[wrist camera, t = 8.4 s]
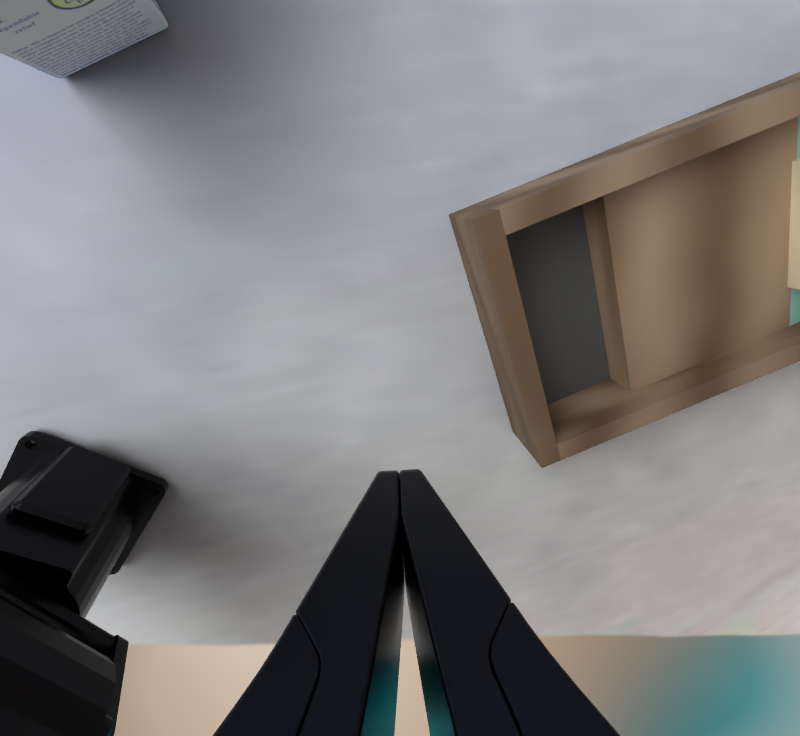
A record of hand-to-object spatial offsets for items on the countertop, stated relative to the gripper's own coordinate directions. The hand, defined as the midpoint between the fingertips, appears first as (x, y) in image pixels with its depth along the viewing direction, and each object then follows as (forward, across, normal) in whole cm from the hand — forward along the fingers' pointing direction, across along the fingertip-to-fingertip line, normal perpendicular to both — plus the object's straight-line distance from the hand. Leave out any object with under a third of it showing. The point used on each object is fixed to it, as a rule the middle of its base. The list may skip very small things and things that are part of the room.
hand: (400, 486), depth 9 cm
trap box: (+16, -19, -2) cm, 25 cm away
